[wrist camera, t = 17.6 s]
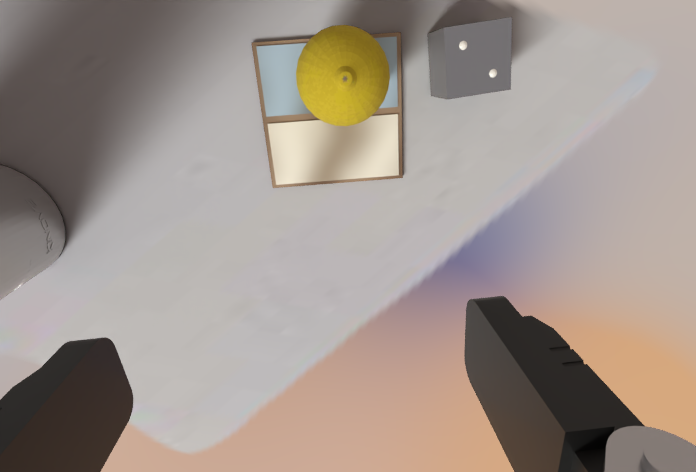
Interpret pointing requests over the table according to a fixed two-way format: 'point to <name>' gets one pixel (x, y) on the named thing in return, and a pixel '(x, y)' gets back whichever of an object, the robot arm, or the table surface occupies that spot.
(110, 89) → the table surface
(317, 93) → the lemon
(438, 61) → the die
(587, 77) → the table surface
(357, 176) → the board
